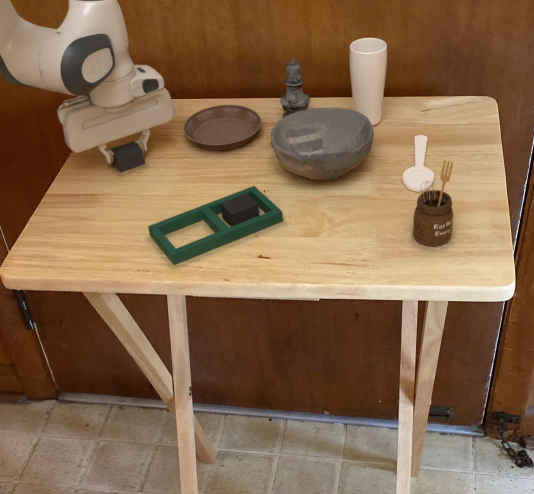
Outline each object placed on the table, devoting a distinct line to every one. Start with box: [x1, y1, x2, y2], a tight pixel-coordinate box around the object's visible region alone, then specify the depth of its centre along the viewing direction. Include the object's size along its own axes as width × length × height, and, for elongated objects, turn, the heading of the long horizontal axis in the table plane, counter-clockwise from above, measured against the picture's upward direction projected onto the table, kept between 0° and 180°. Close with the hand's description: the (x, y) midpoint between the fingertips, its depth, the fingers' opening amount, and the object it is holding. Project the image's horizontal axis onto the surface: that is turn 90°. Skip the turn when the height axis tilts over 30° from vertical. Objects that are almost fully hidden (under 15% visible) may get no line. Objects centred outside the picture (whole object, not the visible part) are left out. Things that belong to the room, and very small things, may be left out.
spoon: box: [402, 134, 435, 193], centre depth 143 cm, size 5×18×1 cm, turn 170°
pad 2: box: [221, 193, 260, 227], centre depth 134 cm, size 5×4×3 cm
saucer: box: [183, 104, 262, 151], centre depth 155 cm, size 15×15×3 cm
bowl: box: [269, 106, 375, 181], centre depth 142 cm, size 18×18×8 cm
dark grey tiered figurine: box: [279, 57, 311, 118], centre depth 155 cm, size 6×6×12 cm
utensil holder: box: [412, 159, 454, 247], centre depth 124 cm, size 6×6×12 cm
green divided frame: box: [147, 185, 284, 266], centre depth 133 cm, size 20×9×2 cm, turn 120°
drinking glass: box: [348, 37, 388, 127], centre depth 151 cm, size 7×7×15 cm
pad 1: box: [108, 140, 146, 173], centre depth 150 cm, size 5×4×3 cm
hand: (127, 156), depth 150 cm, fingers closed on pad 1, 5 cm apart
